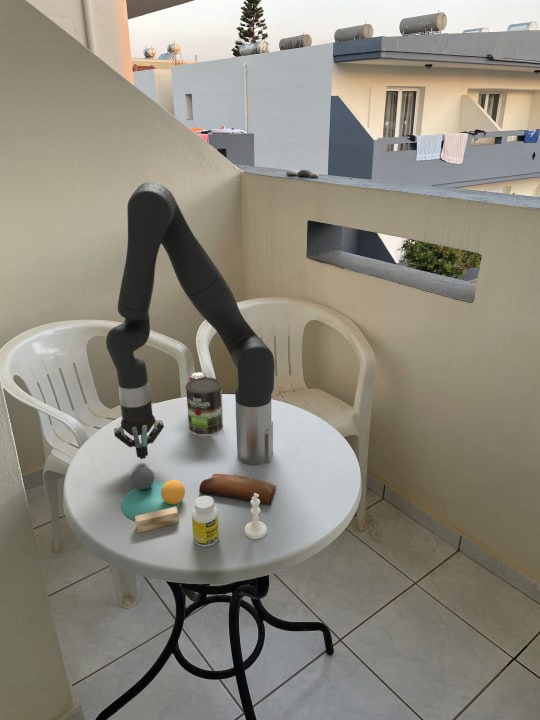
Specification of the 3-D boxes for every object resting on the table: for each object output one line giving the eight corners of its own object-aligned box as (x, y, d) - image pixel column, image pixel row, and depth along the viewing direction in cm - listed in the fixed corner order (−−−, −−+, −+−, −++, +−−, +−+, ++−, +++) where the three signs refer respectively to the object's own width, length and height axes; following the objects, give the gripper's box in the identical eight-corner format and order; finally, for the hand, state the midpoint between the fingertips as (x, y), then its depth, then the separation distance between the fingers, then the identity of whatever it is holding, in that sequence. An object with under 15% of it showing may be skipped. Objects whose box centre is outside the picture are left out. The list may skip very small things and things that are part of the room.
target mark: (190, 486, 124) (190, 485, 124) (170, 525, 112) (170, 524, 111) (136, 480, 126) (136, 479, 126) (111, 517, 114) (110, 517, 114)
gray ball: (159, 487, 122) (157, 476, 127) (149, 469, 120) (147, 459, 125) (137, 498, 121) (136, 487, 126) (127, 480, 119) (126, 469, 124)
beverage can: (207, 413, 157) (205, 379, 152) (190, 413, 157) (188, 378, 152) (209, 405, 162) (207, 371, 157) (193, 405, 162) (190, 371, 157)
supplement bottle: (208, 551, 104) (205, 513, 101) (188, 541, 107) (185, 504, 103) (224, 535, 109) (222, 498, 105) (204, 526, 111) (201, 490, 107)
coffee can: (215, 439, 144) (213, 395, 138) (182, 433, 147) (179, 390, 141) (228, 421, 153) (227, 379, 147) (197, 416, 156) (194, 375, 150)
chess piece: (271, 530, 110) (271, 493, 106) (255, 542, 107) (255, 504, 103) (255, 519, 113) (255, 483, 109) (239, 531, 110) (238, 494, 106)
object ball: (187, 506, 118) (188, 483, 121) (179, 498, 114) (181, 475, 117) (165, 508, 119) (166, 485, 122) (156, 501, 114) (158, 477, 117)
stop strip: (177, 517, 114) (176, 506, 113) (178, 522, 112) (177, 512, 111) (136, 526, 111) (135, 516, 110) (137, 532, 109) (136, 522, 108)
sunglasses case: (279, 484, 125) (276, 473, 119) (273, 512, 121) (269, 501, 115) (211, 473, 129) (205, 462, 124) (203, 499, 125) (196, 489, 120)
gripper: (159, 388, 131) (165, 445, 138) (106, 396, 127) (115, 454, 134) (164, 401, 125) (170, 459, 132) (108, 410, 121) (117, 470, 128)
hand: (142, 457), depth 133 cm, fingers closed
